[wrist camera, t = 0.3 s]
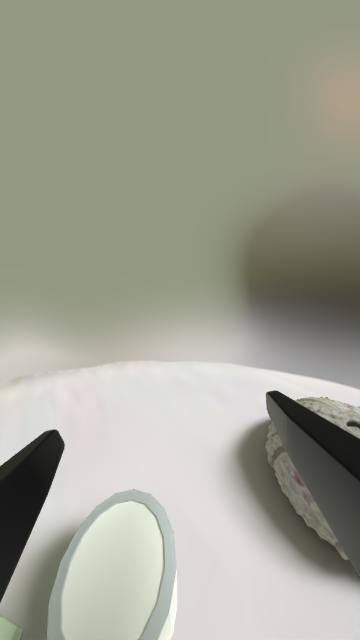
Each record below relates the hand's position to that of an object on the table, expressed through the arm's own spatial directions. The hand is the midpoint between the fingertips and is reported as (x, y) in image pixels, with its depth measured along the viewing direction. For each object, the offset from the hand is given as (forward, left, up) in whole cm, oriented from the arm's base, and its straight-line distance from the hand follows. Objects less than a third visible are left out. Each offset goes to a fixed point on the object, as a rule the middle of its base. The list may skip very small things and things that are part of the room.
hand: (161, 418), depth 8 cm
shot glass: (-1, +4, -17) cm, 17 cm away
